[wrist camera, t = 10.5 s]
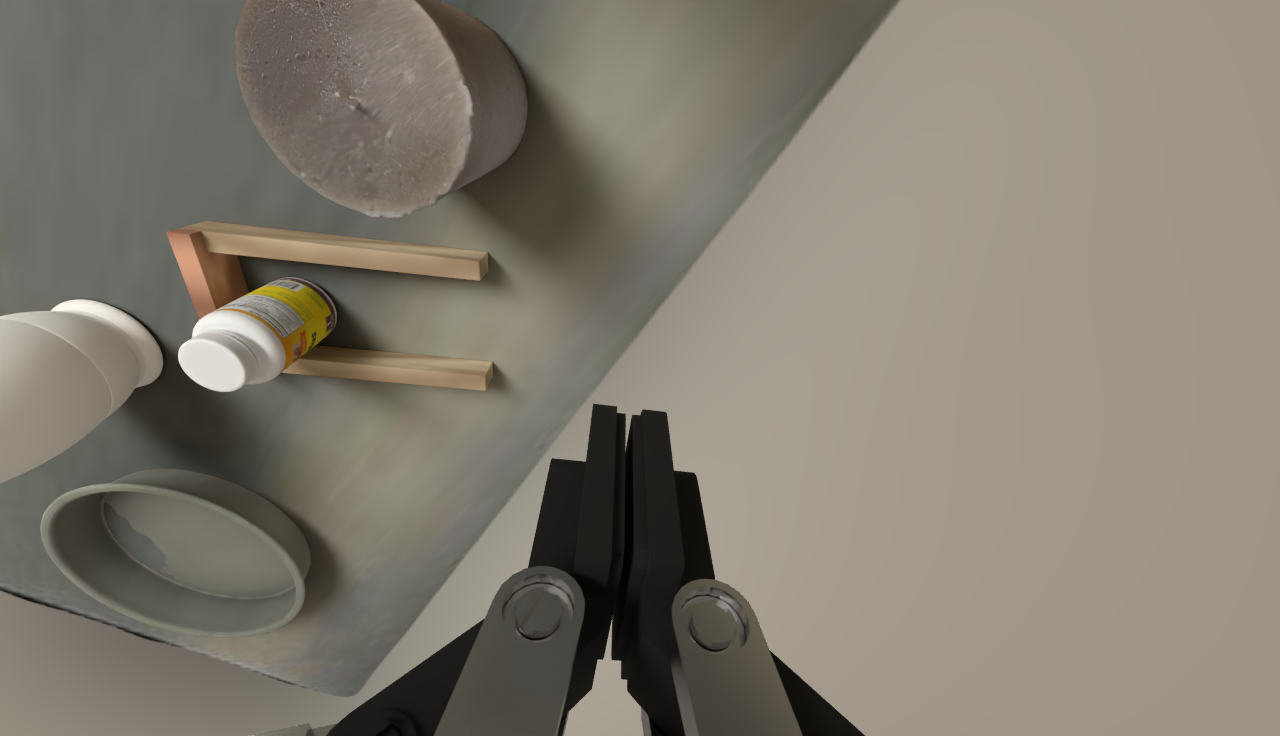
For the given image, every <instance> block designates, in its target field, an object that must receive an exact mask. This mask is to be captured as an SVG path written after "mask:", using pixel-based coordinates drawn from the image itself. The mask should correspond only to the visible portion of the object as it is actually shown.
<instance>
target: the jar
mask: <svg viewBox="0 0 1280 736" xmlns="http://www.w3.org/2000/svg"><path fill="white" fill-rule="evenodd" d="M162 368H163V356H162V352H161V350H160V347H159V345H158V344H157V342H156V340H155V339H154V337H153V336H152V335H151V334H150V332H149V331H148V330H147V329H146V328H145V327H144V326H143V325H142V324H140V323H139V322H138V321H137V320H135V319H134V318H133V317H131V316H130V315H128V314H126V313H125V312H123V311H121V310H119V309H117V308H115V307H112V306H110V305H107V304H104V303H101V302H97V301H92V300H70V301H66V302H63V303H61V304H59V305H57V306H56V307H54V308H53V309H52V310H51V311H36V312H24V313H16V314H10V315H4V316H0V483H2V482H4V481H7V480H9V479H12V478H14V477H16V476H18V475H21V474H23V473H25V472H27V471H29V470H31V469H33V468H35V467H37V466H39V465H41V464H43V463H45V462H46V461H48V460H50V459H52V458H54V457H55V456H57V455H59V454H60V453H62V452H63V451H65V450H67V449H68V448H70V447H71V446H72V445H74V444H75V443H77V442H78V441H79V440H81V439H82V438H83V437H85V436H86V435H87V434H88V433H90V432H91V431H92V430H93V429H94V428H95V427H96V426H97V425H98V424H99V423H100V422H101V421H103V420H104V419H106V418H107V417H108V416H110V415H111V414H112V413H113V412H115V411H116V410H117V409H118V408H119V407H120V406H121V405H122V404H123V403H124V402H125V401H126V400H127V399H128V398H129V397H130V395H131V394H132V392H133V391H134V389H135V388H137V387H142V386H145V385H148V384H150V383H152V382H153V381H154V380H156V379H157V378H158V377H159V375H160V373H161V371H162Z"/></svg>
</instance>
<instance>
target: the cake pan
mask: <svg viewBox="0 0 1280 736" xmlns="http://www.w3.org/2000/svg"><path fill="white" fill-rule="evenodd" d="M105 503H107V504H108V505H110V506H111V507H113V508H114V510H115V512H116V514H117V515H119V516H121V517H123V518H125V519H127V520H128V522H129V524H130V526H131V528H132V529H133V530H135V531H137V532H139V533H141V534H143V535H145V536H147V537H149V538H150V539H151V540H152V542H153V543H154V544H155V545H156V546H157V547H158V548H159V550H160V551H161V552H162V553H163V554H164V556H165V557H166V561H165V563H166V564H168V565H167V566H166V567H164V568H162V569H160V570H159V571H161V572H164V573H166V574H169V575H172V576H174V579H170V578H167V577H165V576H163V575H161V574H159V573H157V572H155V571H153V570H152V569H150V568H149V567H147V566H146V565H144V564H143V563H141V562H140V561H138V560H137V559H136V558H134V557H133V556H132V554H131V552H130V551H128V550H125V549H124V548H123V547H122V546H121V544H120V543H119V542H118V541H117V540H116V539H115V537H114V536H113V534H112V533H111V531H110V529H109V527H108V525H107V523H106V519H105V516H104V504H105ZM40 528H41V536H42V541H43V544H44V546H45V548H46V550H47V553H48V554H49V556H50V558H51V559H52V561H53V562H54V563H55V565H56V566H57V567H58V568H59V569H60V570H61V571H62V573H63V574H64V575H65V576H66V577H67V578H68V579H69V580H71V581H72V582H73V583H74V584H75V585H76V586H78V587H79V588H80V589H82V590H83V591H84V592H86V593H87V594H89V595H90V596H92V597H93V598H95V599H96V600H98V601H99V602H101V603H103V604H105V605H107V606H108V607H110V608H112V609H114V610H116V611H118V612H120V613H122V614H124V615H126V616H129V617H131V618H133V619H136V620H138V621H141V622H144V623H146V624H149V625H152V626H155V627H159V628H162V629H166V630H169V631H174V632H178V633H183V634H188V635H194V636H202V637H212V638H242V637H251V636H256V635H261V634H265V633H268V632H271V631H274V630H276V629H278V628H281V627H282V626H284V625H286V624H287V623H289V622H290V621H291V620H292V619H293V618H295V617H296V615H297V614H298V613H299V611H300V610H301V608H302V605H303V603H304V598H305V583H304V581H305V578H306V576H307V573H308V571H309V569H310V564H311V554H310V549H309V546H308V543H307V541H306V539H305V537H304V535H303V534H302V532H301V531H300V529H299V528H298V527H297V525H296V524H295V523H294V522H293V521H292V520H291V519H290V518H289V517H288V516H287V515H286V514H285V513H284V512H282V511H281V510H280V509H279V508H277V507H276V506H275V505H273V504H272V503H271V502H269V501H268V500H266V499H264V498H263V497H261V496H259V495H258V494H256V493H254V492H252V491H250V490H248V489H246V488H244V487H242V486H240V485H238V484H235V483H232V482H230V481H227V480H224V479H221V478H218V477H215V476H211V475H207V474H203V473H199V472H193V471H187V470H178V469H152V470H144V471H139V472H135V473H132V474H129V475H126V476H124V477H122V478H119V479H117V480H115V481H113V482H111V483H103V484H96V485H90V486H86V487H82V488H78V489H75V490H72V491H70V492H67V493H65V494H63V495H62V496H60V497H59V498H57V499H56V500H55V501H53V502H52V503H51V504H50V506H49V507H48V508H47V509H46V511H45V512H44V514H43V517H42V521H41V527H40Z"/></svg>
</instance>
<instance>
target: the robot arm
mask: <svg viewBox="0 0 1280 736" xmlns="http://www.w3.org/2000/svg"><path fill="white" fill-rule="evenodd" d="M625 421H626V416H625V414H621V413H617V406H607V405H599V404H593V410H592V418H591V426H590V434H589V442H588V450H587V458H586V462H582V461H572V460H562V459H553V458H552V460H551V463H550V468H549V472H548V477H547V482H546V486H545V491H544V495H543V500H542V505H541V509H540V514H539V519H538V524H537V529H536V533H535V538H534V542H533V547H532V552H531V557H530V561H529V566H528V568H526V569H524V570H522V571H520V572H518V573H516V574H514V575H512V576H511V577H510V578H509V579H508V580H507V581H506V582H504V583H503V584H502V585H501V587H500V589H499V590H498V592H497V594H496V595H495V597H494V599H493V601H492V604H491V606H490V608H489V610H488V613H487V615H486V617H485V619H483V620H482V621H480V622H479V623H477V624H476V625H475V626H473V627H472V628H470V629H469V630H468V631H466V632H465V633H463V634H462V635H460V636H459V637H457V638H456V639H455V640H453V641H452V642H450V643H449V644H448V645H446V646H445V647H443V648H442V649H440V650H439V651H438V652H436V653H435V654H433V655H432V656H430V657H429V658H428V659H426V660H425V661H423V662H422V663H421V664H419V665H418V666H416V667H415V668H413V669H412V670H411V671H409V672H408V673H406V674H405V675H404V676H402V677H401V678H399V679H398V680H396V681H395V682H393V683H392V684H391V685H389V686H388V687H386V688H385V689H384V690H382V691H381V692H379V693H378V694H376V695H375V696H374V697H372V698H371V699H369V700H368V701H367V702H365V703H364V704H362V705H361V706H359V707H358V708H356V709H355V710H354V711H352V712H351V713H349V714H348V715H347V716H346V717H345V718H344V719H342V720H341V721H340V722H339V723H338V724H333V725H329V726H324V727H319V728H314V729H311V726H310V724H309V723H308V724H303V725H298V726H293V727H289V728H283V729H278V730H273V731H269V732H264V733H259V734H254V735H249V736H564V732H565V728H566V723H567V719H568V714H569V711H570V710H571V709H572V708H573V707H574V706H575V705H576V704H577V703H578V702H579V701H580V700H581V699H582V698H583V697H584V696H585V695H586V694H587V693H588V692H589V691H590V690H591V689H592V685H593V679H594V675H595V670H596V664H597V659H602V660H603V658H604V653H605V649H606V644H607V639H608V634H609V629H610V625H611V620H612V652H611V654H612V655H611V656H612V660H619V661H621V679H627V691H628V692H629V693H630V694H631V696H632V697H633V698H634V699H635V700H636V702H637V703H638V704H639V705H640V706H641V719H642V726H643V733H644V736H865V735H864V734H862V733H861V732H860V731H859V730H858V729H857V728H856V727H855V726H854V725H853V724H851V723H850V722H849V721H848V720H847V719H846V718H845V717H844V716H842V715H841V714H840V713H839V712H838V711H837V710H836V709H835V708H834V707H832V706H831V705H830V704H829V703H828V702H826V700H825V699H823V698H822V697H821V696H820V695H819V694H818V693H817V692H816V691H815V690H813V689H812V688H811V687H810V686H809V685H808V684H807V683H806V682H804V681H803V680H802V679H801V678H800V677H799V676H798V675H797V674H796V673H794V672H793V671H792V670H791V669H790V668H789V667H788V666H787V665H785V664H784V663H783V662H782V661H781V660H780V659H779V658H778V657H777V656H775V655H774V654H773V653H772V652H771V651H770V650H769V648H768V646H767V643H766V640H765V638H764V635H763V633H762V630H761V628H760V625H759V622H758V620H757V617H756V615H755V613H754V611H753V609H752V608H751V606H750V604H749V602H747V600H746V599H745V598H744V597H743V596H742V595H741V594H740V593H739V592H738V591H736V590H735V589H734V588H732V587H730V586H729V585H728V584H725V583H722V582H720V581H717V580H715V575H714V570H713V564H712V559H711V553H710V547H709V542H708V536H707V531H706V525H705V520H704V514H703V508H702V503H701V497H700V492H699V486H698V481H697V477H696V475H695V473H690V472H681V471H674V470H673V460H672V452H671V444H670V435H669V427H668V420H667V413H666V412H660V411H652V410H642V412H641V416H640V415H632V419H631V425H630V430H629V436H628V441H627V447H626V452H625V427H626V425H625V423H626V422H625ZM612 615H613V618H612Z"/></svg>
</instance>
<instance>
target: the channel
mask: <svg viewBox="0 0 1280 736" xmlns="http://www.w3.org/2000/svg"><path fill="white" fill-rule="evenodd" d="M166 233H167V236H168V238H169V241H170V244H171V246H172V249H173V251H174V254H175V257H176V259H177V262H178V264H179V267H180V270H181V272H182V275H183V278H184V280H185V283H186V285H187V288H188V291H189V293H190V296H191V299H192V301H193V304H194V306H195V309H196V312H197V314H198V317H199V319H201V318H203V317H204V316H206V315H207V314H209V313H211V312H213V311H215V310H217V309H219V308H221V307H223V306H225V305H227V304H228V303H230V302H232V301H234V300H236V299H239V298H241V297H242V296H244V295H246V294H248V293H249V291H248V288H247V284H246V281H245V278H244V275H243V272H242V269H241V265H240V262H239V259H238V256H237V255H243V256H252V257H262V258H271V259H280V260H290V261H299V262H309V263H318V264H327V265H337V266H346V267H356V268H365V269H374V270H384V271H393V272H403V273H412V274H421V275H431V276H440V277H450V278H459V279H468V280H478V281H480V280H481V279H482V278H483V276H484V275H485V274H486V273H487V272H488V270H489V269H488V252H482V251H473V250H464V249H455V248H446V247H437V246H428V245H419V244H410V243H401V242H392V241H383V240H374V239H365V238H356V237H347V236H338V235H329V234H320V233H311V232H302V231H293V230H284V229H275V228H266V227H257V226H248V225H239V224H230V223H221V222H212V221H204V222H201V223H197V224H193V225H190V226H186V227H182V228H179V229H175V230H172V231H168V232H166ZM282 373H292V374H303V375H314V376H325V377H337V378H348V379H359V380H370V381H382V382H393V383H404V384H415V385H427V386H438V387H449V388H460V389H472V390H483V391H486V389H487V387H488V385H489V383H490V381H491V379H492V377H493V362H490V361H479V360H468V359H458V358H447V357H436V356H426V355H415V354H404V353H393V352H383V351H372V350H361V349H351V348H340V347H329V346H319V345H315V346H314V347H313V348H311V349H310V350H309V351H308V352H306V353H305V354H304V355H303V356H301V357H300V358H299V359H298V360H297V361H295V362H294V363H293V364H291V365H290V366H289V367H288V368H286V369H285V370H284V371H283V372H282Z"/></svg>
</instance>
